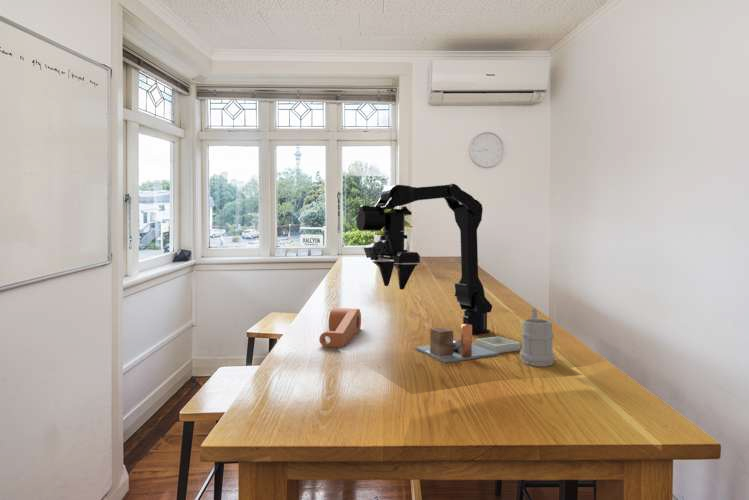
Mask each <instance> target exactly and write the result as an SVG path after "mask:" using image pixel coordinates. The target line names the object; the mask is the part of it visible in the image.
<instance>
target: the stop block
mask: <svg viewBox="0 0 749 500" xmlns="http://www.w3.org/2000/svg"><path fill="white" fill-rule="evenodd" d="M429 336H430V353H432V354H434V355H436V356H438V357H442V356H450V355H453V339H454V330H453V329H449V328H446V327H437V328H430V335H429Z"/></svg>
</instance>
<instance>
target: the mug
mask: <svg viewBox="0 0 749 500" xmlns="http://www.w3.org/2000/svg"><path fill="white" fill-rule="evenodd" d="M530 316H531V317H530V318H525V319H523V320H522V321H523V322H522V331H521V337H522V339H521V340H522V341H521V349H520V350H519V357H520V360H521V362H522V363H523V364H525V365H528V366H531V367H532V366H533V367H541V368H543V367H549V366H552V365H553V363H554V360H555V353H554V351H553V349H554V347H553V339H554V332H553V322H552V321H551V320H550V319H549V320H548V319H543V318H538V309H537V307H531V315H530Z"/></svg>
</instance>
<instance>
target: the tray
mask: <svg viewBox="0 0 749 500" xmlns="http://www.w3.org/2000/svg"><path fill="white" fill-rule="evenodd" d="M474 339H475V341H474V342H475V343H474V345H477V346H480V347H483V348H486V349H489V350H492V351H494V352H497V353H498V354H503V353H510V352H520V351H521V342H519V341H516V340H513V339H510V338H506V337H502V336H500V335H499V336H492V337H491V336H490V337H481V338H474Z"/></svg>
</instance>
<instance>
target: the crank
mask: <svg viewBox="0 0 749 500" xmlns="http://www.w3.org/2000/svg"><path fill="white" fill-rule="evenodd" d="M472 344H473V333H472V325H471V324H463V323H461V324H460V338H453V351H457V352H459V353H460V354H461V356H463V357H471V356H472Z"/></svg>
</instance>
